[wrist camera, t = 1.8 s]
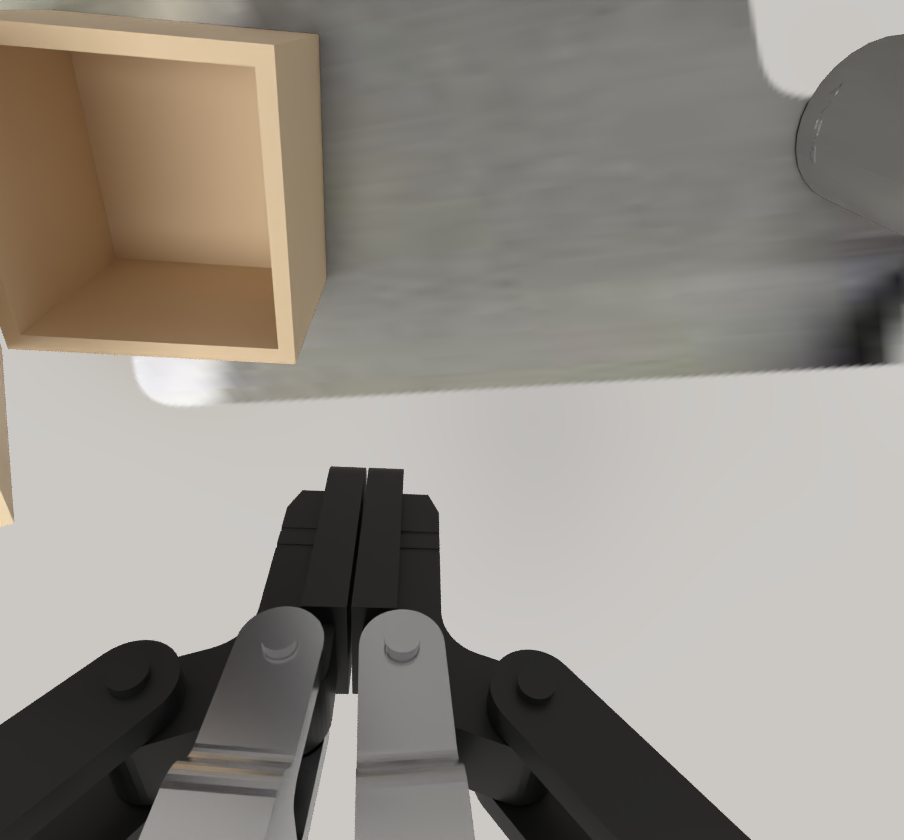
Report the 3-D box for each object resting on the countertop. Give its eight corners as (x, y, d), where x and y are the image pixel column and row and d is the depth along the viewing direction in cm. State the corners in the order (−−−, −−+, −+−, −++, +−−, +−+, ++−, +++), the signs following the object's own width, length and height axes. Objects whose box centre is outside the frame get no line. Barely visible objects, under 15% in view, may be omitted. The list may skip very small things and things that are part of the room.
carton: (318, 34, 34) (274, 45, 24) (326, 278, 42) (295, 364, 32) (52, 9, 33) (-111, 10, 23) (111, 265, 41) (8, 349, 31)
